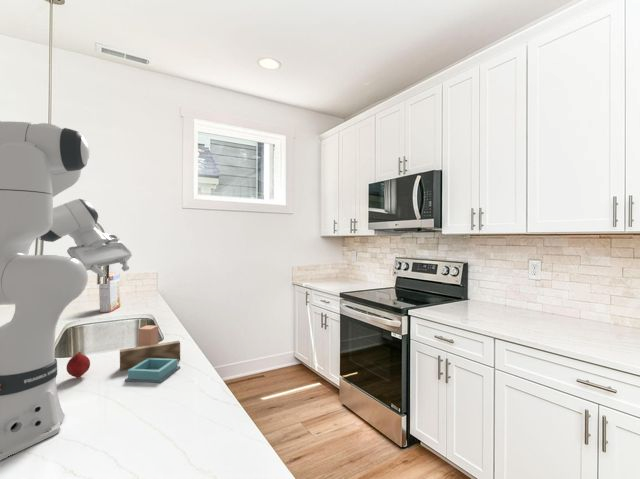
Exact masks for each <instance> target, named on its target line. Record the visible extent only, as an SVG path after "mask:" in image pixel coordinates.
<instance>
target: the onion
mask: <svg viewBox="0 0 640 479" xmlns="http://www.w3.org/2000/svg"><path fill="white" fill-rule="evenodd" d="M90 366H91V361H90V359H89V357H88V356H86V355H85V354H83V352H82V351H80V350H79V351H77V352H76V353H75V354H74V355H73V356H72V357H71V358H70V359H69V360H68V361H67V364H66V372H67V374H68V375H70V376H71V377H74V378H77V379H79V378H82V376H83V375H85V374H86V373H87V372H88V371H89V369H90Z"/></svg>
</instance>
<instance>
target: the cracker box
mask: <svg viewBox="0 0 640 479" xmlns="http://www.w3.org/2000/svg"><path fill="white" fill-rule="evenodd" d="M108 273H109V278H108V281H107V284H100V285H99V284H98V285H99V286H98V290H99V293H98V294H99V313H111V312H113V311H115V310H117V309H118V308H120V307H121V278H120V272H118V271H117V272H108Z"/></svg>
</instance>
